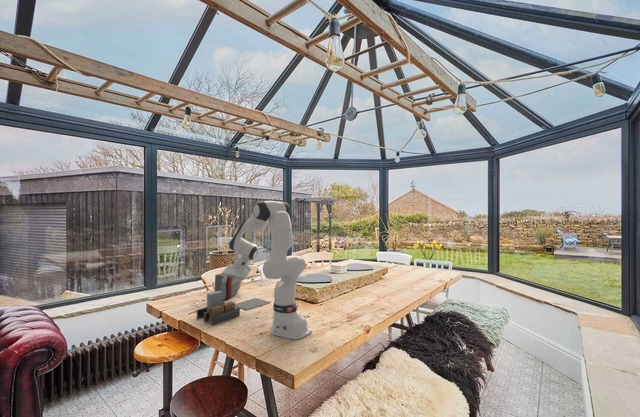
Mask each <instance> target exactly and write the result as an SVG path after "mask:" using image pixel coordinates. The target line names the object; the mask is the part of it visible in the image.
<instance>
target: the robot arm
mask: <svg viewBox="0 0 640 417" xmlns="http://www.w3.org/2000/svg"><path fill="white" fill-rule="evenodd" d="M290 215H291V207H290V204H289V203H288V202H285V201H276V200H275V201H274V200H265V201H262V200H261V201H256V202H255V204H254V205H253V208H252V213H251V215H250V217H249V218H246V219H244V220H243V221H242V222H241V224H240V226H239V227H238V228H237V231H236V232H235V234H234V235H233V237H232V238H231V239H230V241H229V243H228V245H229V249H230V250H231V251H233V252H235V253H237V254H239V256H238V257H237V258H236V260H235V261H234V263H230V264H229V265H227V266H226V267H225V269H224V270H223V271H222V273H223V274H224V275H225V276H224V279H223V282H226V281H227V278H228V277H232V278H236V279H235V280H234V281H232V284H233V285H235V283H236V282H238V281H239V280H241V281H244V280H245V279H247V277H248V275H249V274H250V272H251V271H252V270H253V269H252V267H251V266H250V265H251V262H253V260H254V259H255V258H256V256H257V255H258V253H259V247H258V246H259V245H257V244H255V243H254V242H250V241H248V240H246V239H245V238H244V237H243V235H244V234H245V233H246V231H250V232H254V233H257V232H259V233H260V232H263V231H264V230H265V229H266V228H267V227H268V224H269V222H270V224H271V241H272V242H271V251H270V254H269V256H268V257H267V259H266V260H265V261H264V263H263V264H262V272H263V275H264V276H265V278H266V279H268V280H270V279H271V280H278V279H280V280H279V282H278V284H276V286H275V287H274V291H273V294H274V295H273V298H274V302H273V306H272V309H273V316H272V324H271V328H270V335H273V336H278V337H282V338H286V339H290V340H299V339H303V338H305V337H307V336H309V335H310V334H311V333H312V332H313V330H312V329H313V328H310V327H308V322H307V319H306V318H305V317H304V316H303V315H302V313H301V312H300V311H299V310H298V307H299V304H297V302H296V301H295V300H296V287H297V283H298V280H299V277H300V276H301V274H302V273H303V272H304V270H305V268H306V263H305V262H306V261H305V259H304V258H303V257H302V256H300V255H287V254H288V251H289V249H290V248H291V247H292V246H293V244H294V239H293V227H292V221H291V217H290Z"/></svg>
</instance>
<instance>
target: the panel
mask: <svg viewBox="0 0 640 417" xmlns="http://www.w3.org/2000/svg"><path fill="white" fill-rule="evenodd" d="M223 301H224V300H223V292H222V291H216V292H214V291H212V292H208V293H206V307H207V312H208V311H209V308H210V307H214V306H217V305H221V304H223Z"/></svg>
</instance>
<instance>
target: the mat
mask: <svg viewBox="0 0 640 417" xmlns="http://www.w3.org/2000/svg"><path fill="white" fill-rule="evenodd" d="M270 303H272V302H271V301H268V300H265V299H261V298H257V297H253V298H250V299H247V300H243V301H241V302H237V303H235V308H238V307H239V308H240V310H241V309H242V310H245V311H249V310H253V309H256V308H260V307H262V306H264V305H268V304H270Z"/></svg>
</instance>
